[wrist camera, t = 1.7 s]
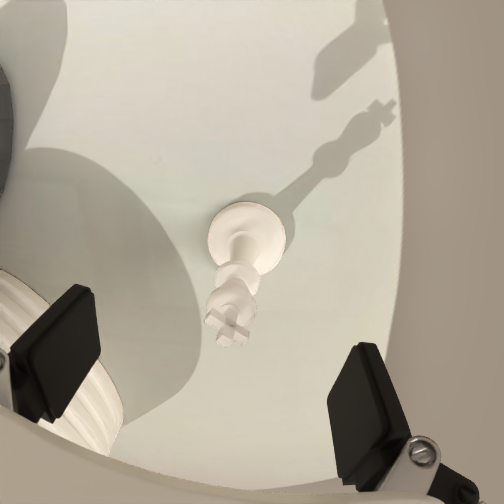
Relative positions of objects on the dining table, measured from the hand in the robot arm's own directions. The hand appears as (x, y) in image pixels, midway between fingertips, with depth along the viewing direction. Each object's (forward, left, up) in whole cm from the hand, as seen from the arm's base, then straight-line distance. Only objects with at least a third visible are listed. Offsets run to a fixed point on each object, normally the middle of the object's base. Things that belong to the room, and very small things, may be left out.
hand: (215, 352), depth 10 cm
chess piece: (0, 0, -11) cm, 11 cm away
